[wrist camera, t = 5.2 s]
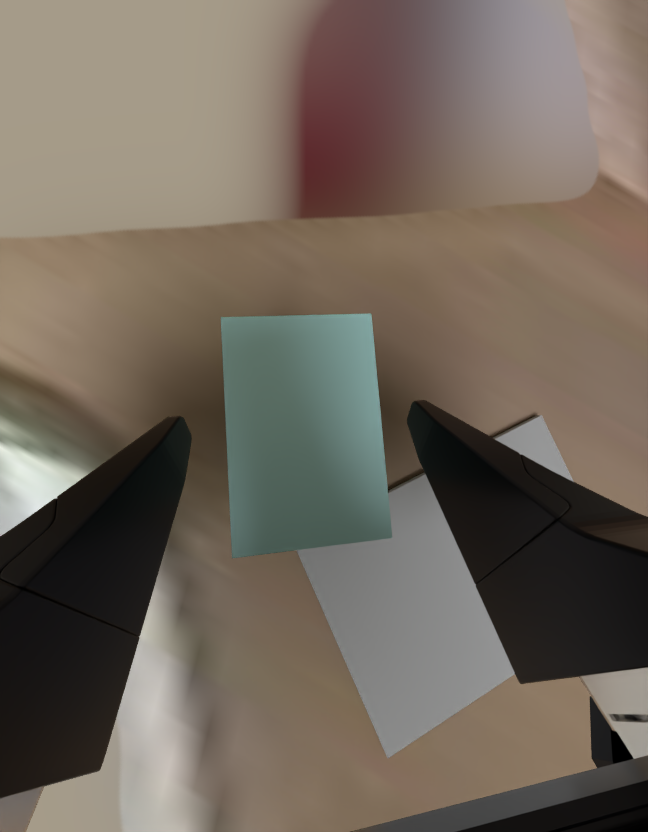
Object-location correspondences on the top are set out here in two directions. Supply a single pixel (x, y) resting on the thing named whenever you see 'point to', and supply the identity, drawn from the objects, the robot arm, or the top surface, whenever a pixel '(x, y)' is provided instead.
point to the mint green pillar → (303, 433)
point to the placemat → (416, 608)
